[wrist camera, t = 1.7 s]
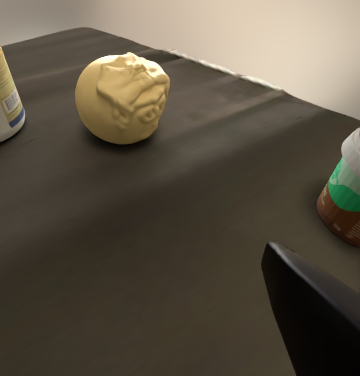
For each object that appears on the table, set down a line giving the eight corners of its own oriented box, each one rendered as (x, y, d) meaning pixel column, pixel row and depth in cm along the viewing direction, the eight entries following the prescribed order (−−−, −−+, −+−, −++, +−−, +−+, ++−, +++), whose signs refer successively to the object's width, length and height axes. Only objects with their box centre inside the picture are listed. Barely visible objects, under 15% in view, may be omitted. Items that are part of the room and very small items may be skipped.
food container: (312, 171, 37) (352, 106, 30) (358, 187, 35) (412, 123, 28) (300, 234, 29) (352, 165, 22) (359, 258, 27) (436, 194, 20)
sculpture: (133, 166, 34) (129, 85, 26) (65, 134, 37) (45, 54, 29) (177, 128, 41) (184, 56, 33) (117, 104, 44) (111, 34, 37)
